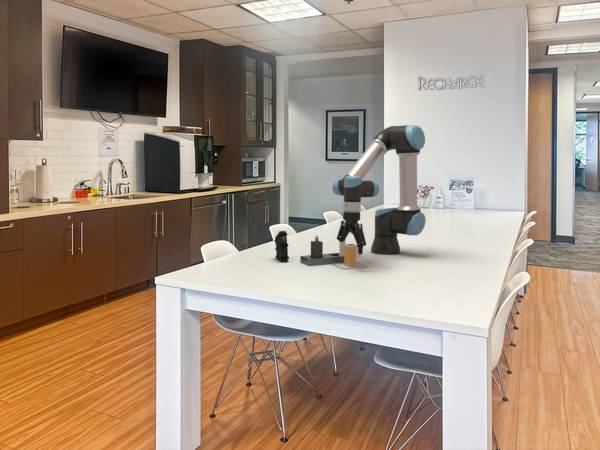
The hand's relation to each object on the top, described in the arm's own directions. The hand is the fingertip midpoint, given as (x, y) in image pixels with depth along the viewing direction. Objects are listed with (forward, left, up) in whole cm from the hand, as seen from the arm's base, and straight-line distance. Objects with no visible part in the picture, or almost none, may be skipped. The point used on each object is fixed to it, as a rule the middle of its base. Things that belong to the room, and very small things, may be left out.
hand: (350, 258), depth 230 cm
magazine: (+22, -26, -4) cm, 34 cm away
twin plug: (+11, -12, -3) cm, 16 cm away
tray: (0, 0, -4) cm, 4 cm away
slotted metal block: (+6, -12, -4) cm, 14 cm away
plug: (0, 0, -4) cm, 4 cm away
